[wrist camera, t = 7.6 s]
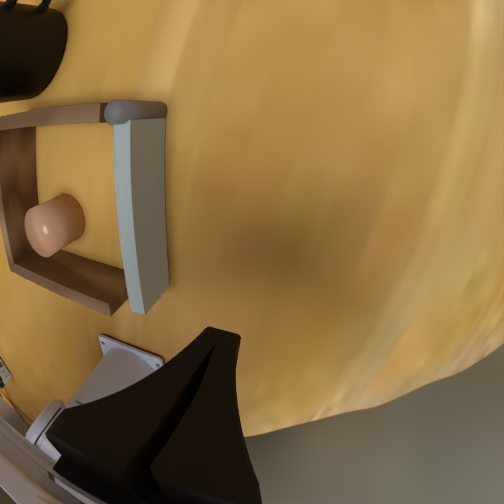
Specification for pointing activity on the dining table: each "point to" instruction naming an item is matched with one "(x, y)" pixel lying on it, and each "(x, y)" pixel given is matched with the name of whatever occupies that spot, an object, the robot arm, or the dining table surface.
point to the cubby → (25, 197)
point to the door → (141, 197)
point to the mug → (28, 48)
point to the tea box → (4, 375)
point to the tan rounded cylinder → (54, 224)
